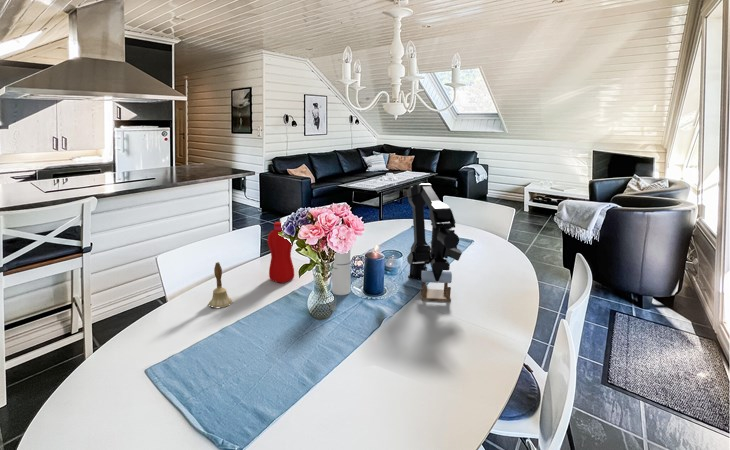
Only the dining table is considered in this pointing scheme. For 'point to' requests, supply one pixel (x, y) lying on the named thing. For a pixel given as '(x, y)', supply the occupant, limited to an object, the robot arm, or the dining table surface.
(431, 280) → the cylinder
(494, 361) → the dining table surface
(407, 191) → the robot arm
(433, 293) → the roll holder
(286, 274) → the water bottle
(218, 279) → the hand bell
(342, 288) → the cylindrical container
